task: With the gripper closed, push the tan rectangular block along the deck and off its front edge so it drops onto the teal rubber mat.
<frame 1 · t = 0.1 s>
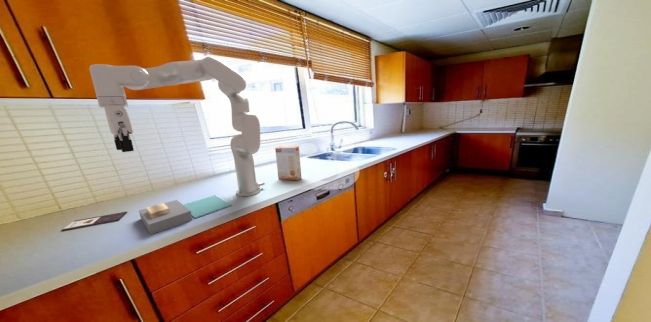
hand: (125, 150, 82), 31 cm above the counter, tool pointing down, fingers open, 9 cm apart
mat: (206, 206, 105), on the counter
tan rectangular block: (158, 212, 92), point 4 cm above the counter, touching deck
deck: (166, 219, 94), on the counter
cracker box: (290, 179, 142), on the counter
chocolate bar: (97, 222, 96), on the counter
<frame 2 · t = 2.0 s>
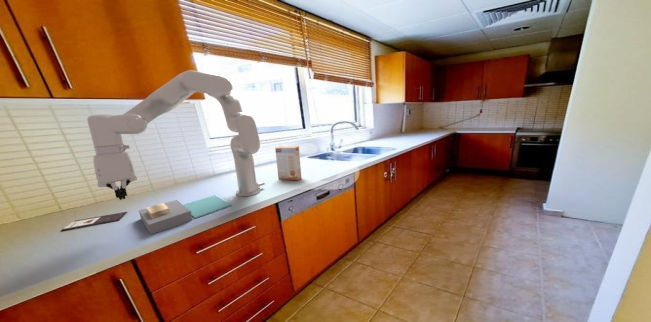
hand: (122, 198, 83), 13 cm above the counter, tool pointing down, fingers closed
nothing on the counter moved.
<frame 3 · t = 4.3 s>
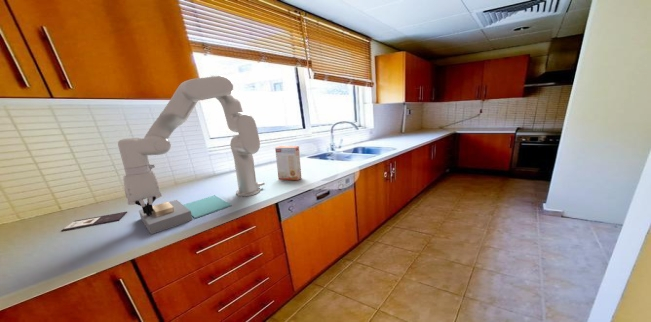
hand: (149, 214, 89), 5 cm above the counter, tool pointing down, fingers closed
tan rectangular block: (163, 211, 93), point 4 cm above the counter
everything else where it was.
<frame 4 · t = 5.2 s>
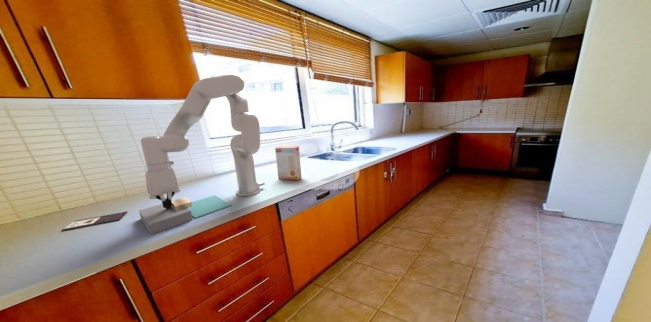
hand: (168, 208, 94), 5 cm above the counter, tool pointing down, fingers closed
tan rectangular block: (181, 205, 97), point 4 cm above the counter, touching deck
everything else where it was.
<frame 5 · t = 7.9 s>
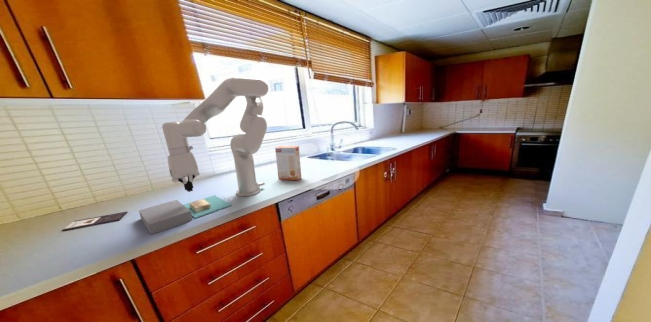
hand: (189, 190, 99), 10 cm above the counter, tool pointing down, fingers closed
tan rectangular block: (199, 203, 102), point 3 cm above the counter, tilted 180°, touching mat
everything else where it was.
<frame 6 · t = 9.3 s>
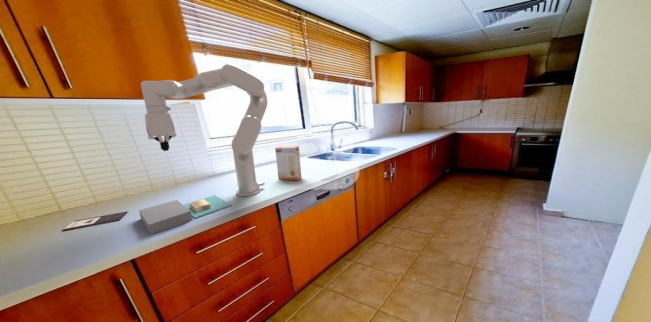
hand: (165, 150, 103), 27 cm above the counter, tool pointing down, fingers closed
nothing on the counter moved.
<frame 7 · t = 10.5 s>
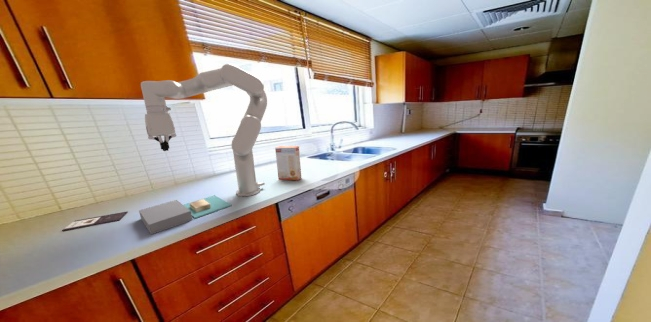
hand: (165, 150, 104), 27 cm above the counter, tool pointing down, fingers closed
nothing on the counter moved.
at the end: tan rectangular block inside the target area on the mat (2.5 cm from its centre), point 2.6 cm above the mat's base; tan rectangular block point 2.6 cm above the counter; tan rectangular block touching mat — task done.
